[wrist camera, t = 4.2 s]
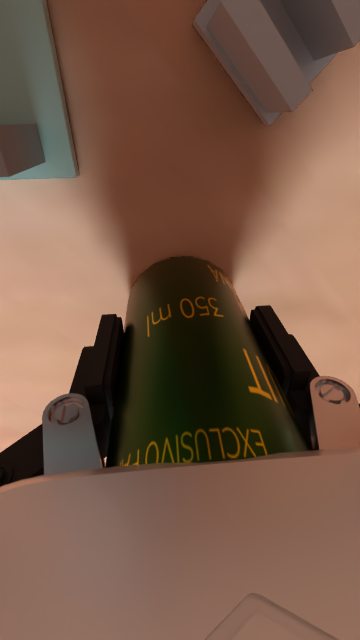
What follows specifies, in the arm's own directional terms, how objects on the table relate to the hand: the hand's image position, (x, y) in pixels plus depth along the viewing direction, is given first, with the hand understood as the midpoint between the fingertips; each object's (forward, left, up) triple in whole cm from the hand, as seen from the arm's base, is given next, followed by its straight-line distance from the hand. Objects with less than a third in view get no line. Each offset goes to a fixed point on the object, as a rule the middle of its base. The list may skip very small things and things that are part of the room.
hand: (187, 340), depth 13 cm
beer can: (0, 0, -4) cm, 4 cm away
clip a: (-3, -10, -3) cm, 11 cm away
